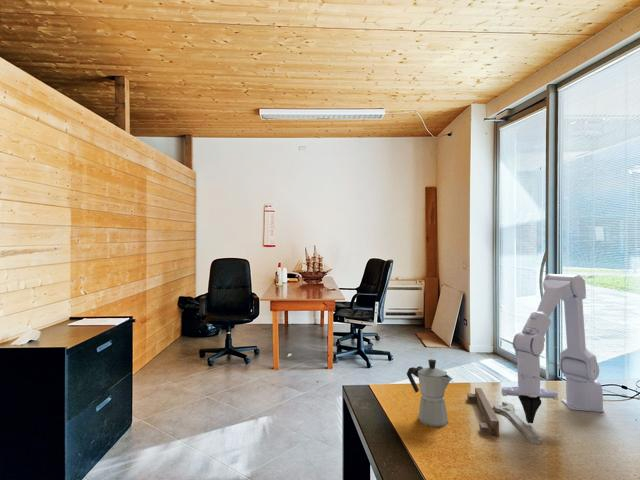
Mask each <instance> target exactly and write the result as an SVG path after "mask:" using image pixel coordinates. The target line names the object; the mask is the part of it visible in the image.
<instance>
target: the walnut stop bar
mask: <svg viewBox="0 0 640 480" xmlns="http://www.w3.org/2000/svg"><path fill="white" fill-rule="evenodd" d="M466 398H467V399H466V400H467V401H468V404H469V403H471V404H476V405H477V407H478V410H479V411H480V413H481V416H482V418H483V420H484V422H479V431H480V433H481V435H483V436H492V437H493V436H494V437H500V421H499V419H498V417H497V415H496V414H495V413H496V412H495V410H494V408H493V407H492V406H491V403H490V402H489V400H488V397H487V396H486V394H485V393H484V391H483V388H482V387H474V393H469V392H468V393H467V397H466Z"/></svg>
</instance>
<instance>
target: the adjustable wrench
mask: <svg viewBox="0 0 640 480" xmlns="http://www.w3.org/2000/svg"><path fill="white" fill-rule="evenodd" d="M501 405H503V406H501ZM493 411H494V413H498V412H499V414H501V413H502V414H501V415H504V416H506V417H507V416H508V417H509V418H510V419H509V418H508V417H507V418H508V419H509V420H510V421H511V422H512V424H514V425H515V427H517V429H518V430H519V431H520V432H521V433H522V434H523V435H524V437H525V438H527V440H528V441H529V442H530V443H532V444H536V445H539V444H541V441H542V440H541V437H540V436H539V435H538V434H537V433H536V432H535V431H534V430H533V429H532V428H531V427H530V426H529V425H528V424H527V423H526V422H524V421H523V420H522V419H521V418H520V417H519V416H518V414H516V413H515V405H514V404H512V403H511V402H507V401H502V402H501V404H499V403H496V402H494V403H493Z"/></svg>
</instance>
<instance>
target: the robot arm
mask: <svg viewBox="0 0 640 480" xmlns="http://www.w3.org/2000/svg"><path fill="white" fill-rule="evenodd" d="M542 282H543V283H542V287H543V290H544V291H543V295H542V297H541V299H540V302H539V305H538V307H537V310H536V311H533V312H531V313H530V315H529V317H528V319H527V320H526V323H525V324H524V326H523V328H522V330H521V332H520V331H519V333H516V334H515V335H514V336H513V340H512V343H511V344H512V348H513V349H514V354H515V355H514V356H515V357H516V358H517V359H516V360H517V386H506V387H505V386H502V387H501V395H502V396H503V397H507V396H509V397H511V396H512V397H518V400H519V402H520V403H521V405H522V409H523V412H524V415H525V420H526V422H527V424H534V421H535V416H536V414H537V412H538V409H539V408H540V406H541V405H542V400H541V399H543V398H544V399H552V400H559V393H558V392H557V391H556V390H553V389H545V388H541V362H540V361H541V358H540V356H541V354H542V353H543V351H544V350H545V341H546V334H547V332H548V329H549V328H550V325H551V324H552V320H551V319H550V317H551V315H552V314H553V312H554V310H555V309H556V307H557V306H558V304H559V302H560V301H561V300H562V301H563V305H564V320H565V335H566V338H565V339H566V348H565V349H563V350H561V351H560V352H559V361H558V368H559V371H560V372H561V373H562V374H563V377H565V398H561V401H562V402H563V403H564V405H566V406H567V407H568V408H569V409H570V410H572V411H573V410H574V411H587V412H597V413H600V412H601V413H602V412H603V413H604V412H605V410H604V394H603V393H604V392H603V388H602V383H601V382H600V380H598V378H599V375H600V366H599V365H598V361H597V359H598V358H597V355H595V354H594V353H592V352H591V351H590V350H588V349H587V346H586V333H585V332H586V330H585V319H584V318H585V316H584V304H583V302H584V301H583V300H584V299H586V298H587V291H586V287H587V286H586V280H585V279H584V278H583V276H581V275H579V274H559V273H558V274H557V273H556V274H555V273H548V274H546V275H545V277H544V279H543V281H542Z"/></svg>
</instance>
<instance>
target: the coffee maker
mask: <svg viewBox="0 0 640 480" xmlns="http://www.w3.org/2000/svg"><path fill="white" fill-rule="evenodd" d="M427 361H428V366H429V367H423V366H421V365H419V366H417V367H412V366H411V367H409V368H408V370H407V372H406V376H407V379H408V380H409V382H410V384H411V387H412V388H413V391H414V393H416V394H417V393H418V392H419V391H420V395H422V396H420V403H419V409H418V414H417V415H418V417H417V419H418V420H419V422H420V424H422V425H425V426H428V427H431V428H434V427H435V428H437V427H438V428H441V427H443V428H444V427H445V426H446V425H447V424H448V423H449V419H448V414H447V408H446V407H447V406H446V401H445V399H444V397H445V393H446V388H447V387H448V385H449V384H450V382H451V381H452V380H453V377H451V376H449V375H448V373H447V371H446V370H443V369H440V368H437V367H436V363H437V360H436V359H428V360H427ZM413 376H415V377H417V378H418V384H419V387H418V385H417V383H416V381H415V378H414V377H413Z"/></svg>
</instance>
